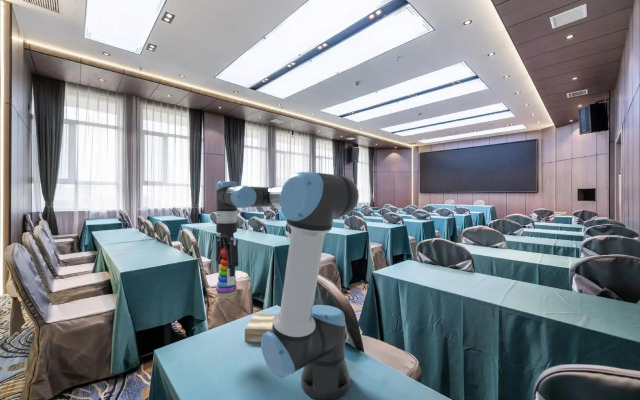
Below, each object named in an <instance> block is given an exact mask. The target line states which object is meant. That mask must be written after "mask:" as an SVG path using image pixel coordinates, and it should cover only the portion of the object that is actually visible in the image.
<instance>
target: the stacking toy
mask: <svg viewBox="0 0 640 400" xmlns="http://www.w3.org/2000/svg"><path fill="white" fill-rule="evenodd" d="M221 256H222V258H223V259H222V260H221V264H222V265H220V269H221V270H220V271H219V270H218V277H217V282H216V285H217V286H216V287H215V290H216V291H215V297H216V298H218V299H231V298H233V297H235V296H237V294H238V290H237V288H238V287H237V280H236V278H237V277H236V274H235V284H234V285H229V286H228V285H227V267H228V260H227V253H226V250H225V248H223V249H222V251H221Z"/></svg>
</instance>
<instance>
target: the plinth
mask: <svg viewBox="0 0 640 400" xmlns="http://www.w3.org/2000/svg"><path fill="white" fill-rule="evenodd" d="M276 314H277V313H276ZM276 314H274V313H272V314H271V313H270V314H269V313H253V315H252V317H251V318H250V320H249V321H248V323H247V325H246V326H245V327H244V342H245V343H247V342H249V343H261V339H262V336H263V334H265V333H266V332H267V331H271V330H272V325H273V319H274V317H275V315H276Z"/></svg>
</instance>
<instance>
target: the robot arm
mask: <svg viewBox="0 0 640 400" xmlns="http://www.w3.org/2000/svg"><path fill="white" fill-rule="evenodd" d="M215 195H216V197H215V198H216V199H215V200H216V204H215V205H216V206H215V207H216V210H215V211H216V213H215V217H216V226H215V230H216V234H219V235H216V237H215V239H216V250H215V251H216V253H215V261H216V262H217V264H218V272H219V271H220V270H221V269H220V265H222V264H221V260H222V259H223V258H222V256H221V251H222V249H223V248H225V250H226V253H227V260H228V267H227V285H228V286H229V285H234V284H235V280H236V278H235V275H236V267H238V266H239V251H238V250H239V249H238V246H239V245H238V244H239V239H237V238H235V235H234V233H237V232H238V223H237V221H238V208H240V209H247V208H268V207H269V208H280V211H281V213H282V215H283V216H284V218H286V225H287V226H288V227H289V228H290V230H291V231H290V237H289V238H290V239H289V245H288V252H287V253H288V254H287V259H286V265H285V266H286V268H285V273H284V274H285V275H284V282H283V288H282V289H283V290H282V297H281V302H280V310H279V312H278V313H276V315H275V317H274V319H273V325H272V330H271V331H267V332H266V333H265V334H263V336H262V339H261V342H260V347H261V352H262V355H263V356H262V357H263V358H264V361H265V363H266V366H267V367H268V369H269V370H270V371H271V373H272V374H274V375H275V376H276V377H277V378H285V377H287V376H290V375H294V374H295V373H296V372H298V371H300V370H301V369H302V372H301V376H300V379H301V380H300V385H301V388H302V390H303V391H304V393H305V394H306V395H308V396H309V397H311V398H314V399H317V400H319V399H320V400H327V399H333V400H336V399H335V398H337V399H340V398H341V396H342V397H343V396H344V394H345V393H346V392H349V389H350V387H351V376H350V371H349V368H348V366H347V362H346V358H345V351H346V349H345V347H346V318H345V317H346V316H345V314H344V311H342V310H341V309H340V308H338V307H335V306H332V305H326V304H314V303H315V297H316V291H317V284H318V277H319V271H320V267H321V260H322V254H323V253H322V252H323V247H324V246H323V245H324V241H325V235H326V234H327V233H329V232H330V231H331V230H332V227H333V223H334V218H342V217H345V216H348V215H349V214H351V213H352V212H353V211H354V210H355V208H357V205H358V203H359V200H360V199H359V197H360V194H359V189H358V187H357V185H356V184H355V182H354V181H353V180H352V179H350V178H349V177H347V176H345V175H342V174H330V173H324V172H322V173H321V172H315V171H299V172H295V173H293V174H292V175H290V177H288V178H287V179H286V180H285V182H284V183H283V186H271V187H270V186H267V187H266V186H264V187H263V186H261V187H260V186H248V185H239V186H238V183H237V182H236V181H218V182H216V191H215ZM346 394H347V393H346ZM346 394H345V395H346ZM339 397H340V398H339Z"/></svg>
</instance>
